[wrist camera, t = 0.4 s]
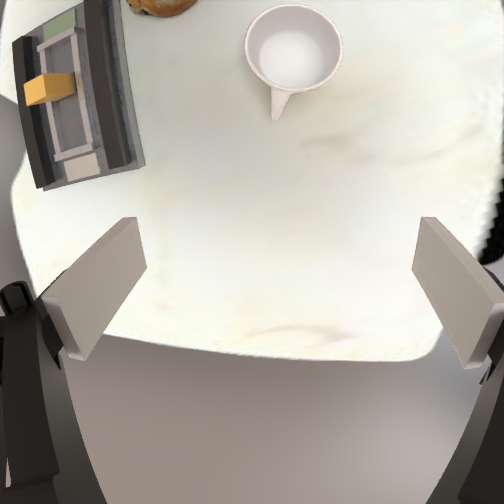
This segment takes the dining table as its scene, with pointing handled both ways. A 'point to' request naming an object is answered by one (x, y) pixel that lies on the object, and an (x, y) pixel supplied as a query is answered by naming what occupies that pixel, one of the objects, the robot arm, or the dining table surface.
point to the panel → (79, 97)
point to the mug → (292, 51)
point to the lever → (50, 88)
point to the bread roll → (159, 6)
